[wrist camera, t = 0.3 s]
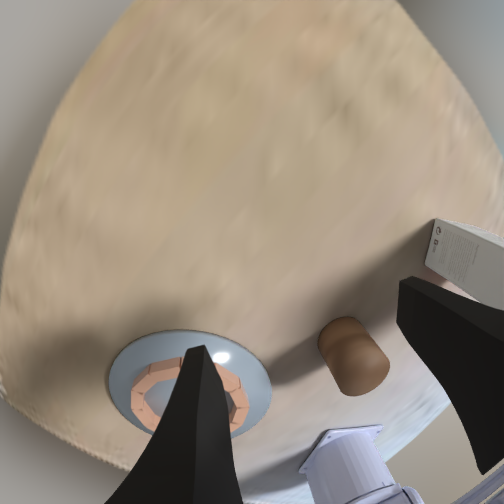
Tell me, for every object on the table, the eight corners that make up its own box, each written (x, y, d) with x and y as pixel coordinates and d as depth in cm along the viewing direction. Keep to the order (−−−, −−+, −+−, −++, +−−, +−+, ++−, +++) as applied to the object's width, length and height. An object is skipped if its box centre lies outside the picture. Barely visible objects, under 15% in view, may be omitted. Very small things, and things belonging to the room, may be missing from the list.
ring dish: (248, 444, 27) (250, 457, 25) (113, 425, 24) (110, 438, 22) (292, 343, 23) (298, 357, 21) (109, 312, 20) (103, 325, 18)
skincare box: (422, 266, 22) (525, 339, 11) (434, 216, 21) (552, 270, 10) (464, 268, 23) (555, 327, 12) (475, 224, 22) (575, 272, 11)
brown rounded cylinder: (350, 357, 24) (374, 395, 20) (310, 355, 23) (330, 396, 19) (369, 319, 23) (398, 354, 18) (327, 314, 22) (353, 352, 18)
